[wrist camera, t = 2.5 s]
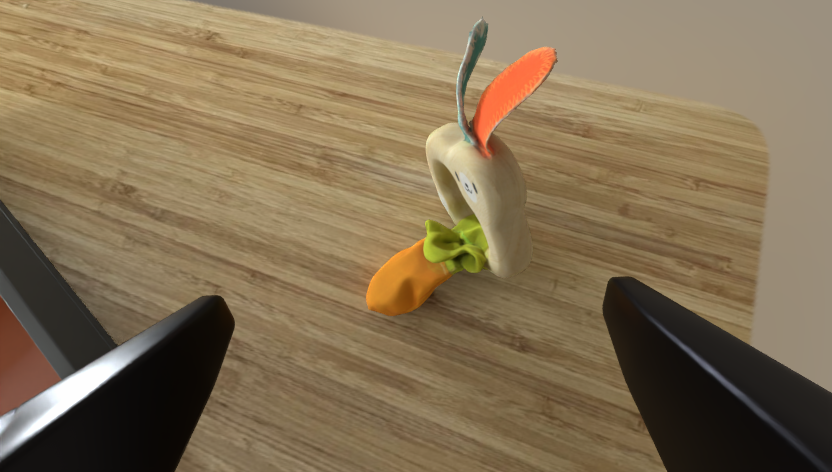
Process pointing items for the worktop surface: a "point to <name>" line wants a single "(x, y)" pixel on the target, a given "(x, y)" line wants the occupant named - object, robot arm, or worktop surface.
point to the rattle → (470, 191)
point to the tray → (39, 320)
